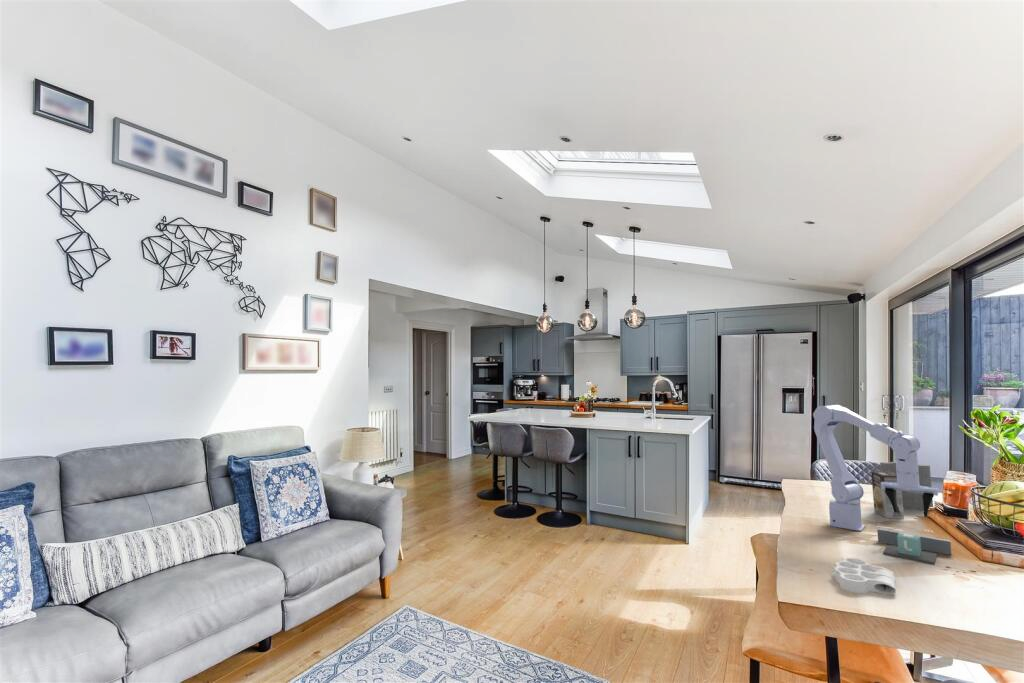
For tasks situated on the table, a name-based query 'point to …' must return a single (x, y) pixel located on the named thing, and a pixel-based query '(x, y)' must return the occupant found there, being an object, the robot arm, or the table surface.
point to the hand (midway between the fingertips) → (910, 513)
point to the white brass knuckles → (863, 577)
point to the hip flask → (913, 498)
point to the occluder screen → (926, 542)
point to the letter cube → (909, 544)
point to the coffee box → (880, 497)
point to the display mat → (924, 556)
